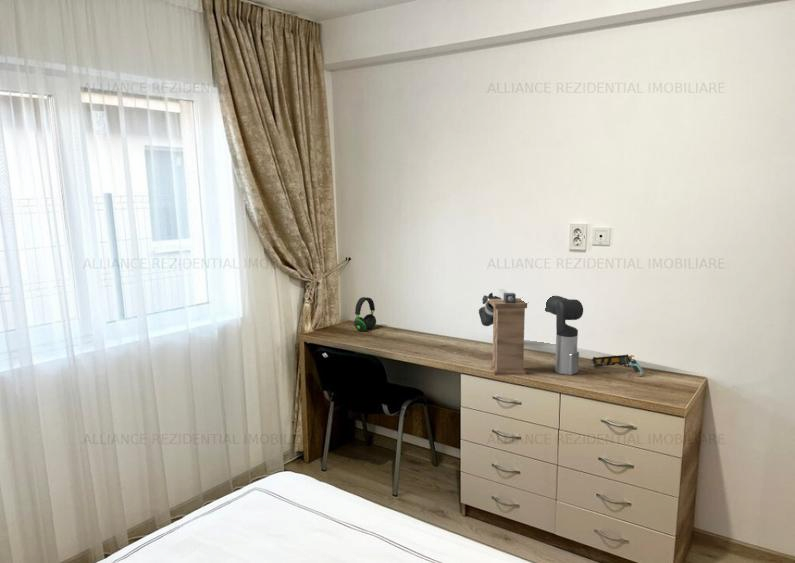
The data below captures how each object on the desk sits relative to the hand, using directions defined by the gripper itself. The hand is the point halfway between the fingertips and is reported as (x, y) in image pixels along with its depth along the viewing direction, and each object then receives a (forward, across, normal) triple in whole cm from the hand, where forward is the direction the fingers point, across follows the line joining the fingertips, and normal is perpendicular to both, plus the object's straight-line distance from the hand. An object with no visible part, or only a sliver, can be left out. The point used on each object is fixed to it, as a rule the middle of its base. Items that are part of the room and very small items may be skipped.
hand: (500, 294), depth 266 cm
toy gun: (+2, -50, -37) cm, 63 cm away
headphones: (-78, +64, +5) cm, 102 cm away
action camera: (+7, 0, -4) cm, 8 cm away
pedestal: (-4, -1, -36) cm, 36 cm away
